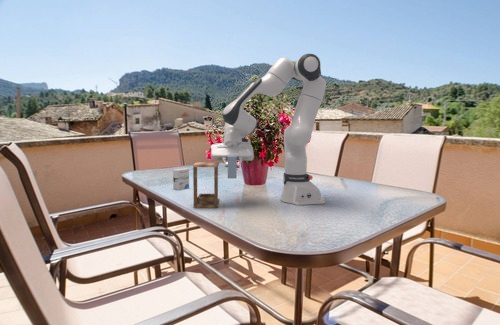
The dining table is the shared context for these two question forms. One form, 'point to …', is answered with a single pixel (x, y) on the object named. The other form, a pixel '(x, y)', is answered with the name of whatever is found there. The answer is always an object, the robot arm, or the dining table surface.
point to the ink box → (180, 179)
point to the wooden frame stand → (206, 199)
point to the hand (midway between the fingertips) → (232, 166)
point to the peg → (232, 166)
